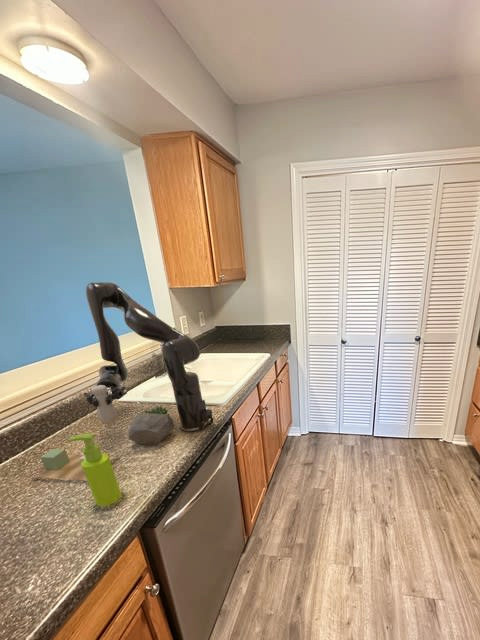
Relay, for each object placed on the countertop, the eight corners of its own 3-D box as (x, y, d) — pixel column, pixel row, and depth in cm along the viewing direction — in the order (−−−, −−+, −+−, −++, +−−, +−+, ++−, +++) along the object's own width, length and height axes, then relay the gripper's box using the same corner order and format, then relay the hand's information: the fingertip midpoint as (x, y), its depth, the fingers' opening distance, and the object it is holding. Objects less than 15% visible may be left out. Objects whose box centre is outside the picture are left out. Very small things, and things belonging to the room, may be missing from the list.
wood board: (116, 459, 104) (115, 456, 103) (89, 482, 93) (88, 479, 93) (67, 456, 106) (66, 454, 106) (35, 479, 96) (33, 477, 95)
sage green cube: (70, 461, 102) (65, 449, 100) (58, 470, 98) (53, 457, 96) (57, 461, 103) (52, 448, 101) (45, 469, 98) (40, 457, 97)
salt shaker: (110, 425, 108) (98, 390, 103) (96, 424, 110) (83, 389, 104) (122, 417, 114) (112, 383, 108) (108, 417, 115) (97, 382, 109)
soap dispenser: (99, 495, 88) (75, 430, 79) (125, 493, 88) (104, 428, 80) (88, 510, 82) (61, 443, 74) (116, 508, 83) (92, 440, 75)
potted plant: (120, 441, 107) (136, 411, 119) (157, 456, 113) (169, 426, 124) (134, 420, 101) (149, 391, 113) (172, 437, 107) (183, 407, 118)
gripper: (83, 380, 117) (73, 397, 102) (126, 373, 121) (122, 388, 107) (90, 399, 120) (81, 418, 105) (131, 392, 124) (128, 409, 110)
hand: (101, 403), depth 106 cm, fingers closed on salt shaker, 3 cm apart
